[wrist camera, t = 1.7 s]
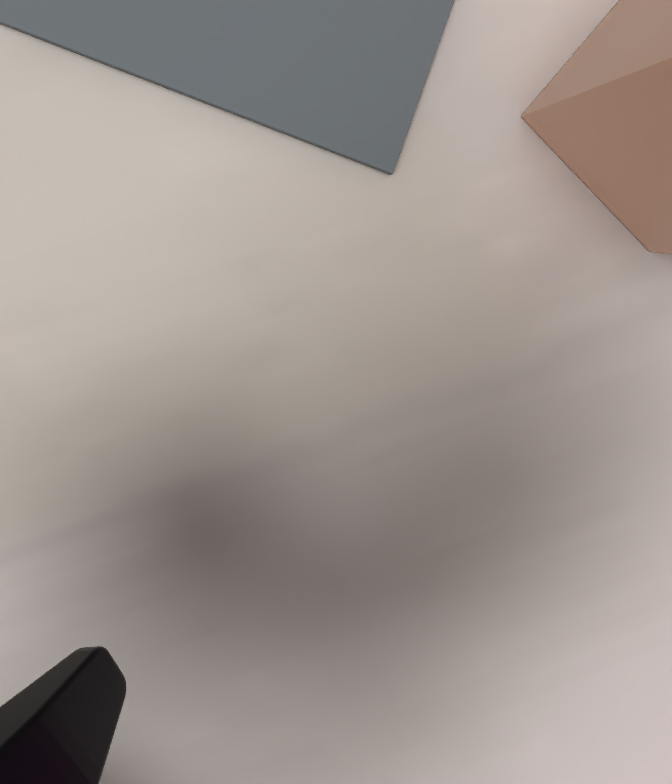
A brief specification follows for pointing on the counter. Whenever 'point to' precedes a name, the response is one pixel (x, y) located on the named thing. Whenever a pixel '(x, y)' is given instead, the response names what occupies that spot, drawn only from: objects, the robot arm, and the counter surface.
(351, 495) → the counter surface
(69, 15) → the mat
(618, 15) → the tall salmon pink block
